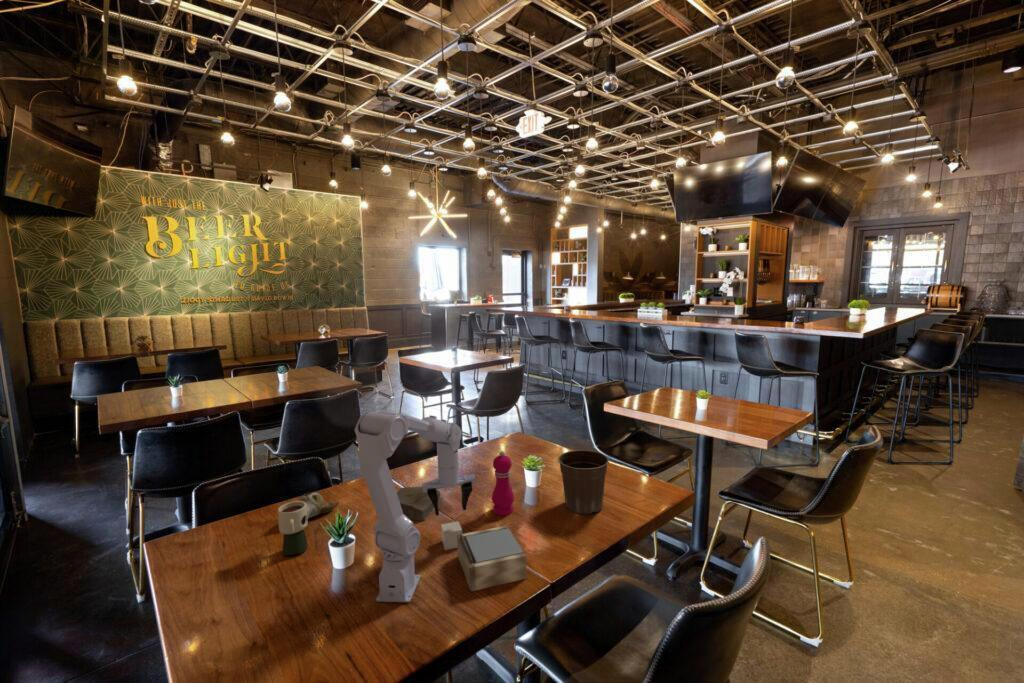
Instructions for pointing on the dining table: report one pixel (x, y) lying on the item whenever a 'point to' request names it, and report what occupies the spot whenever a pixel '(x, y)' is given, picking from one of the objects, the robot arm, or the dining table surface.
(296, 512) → the character mug
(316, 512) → the ceramic sculpture
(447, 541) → the pale grey cube
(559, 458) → the plant pot
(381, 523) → the robot arm
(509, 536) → the trapdoor flap
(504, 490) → the pepper mill
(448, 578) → the dining table surface
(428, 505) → the dark grey rock slab
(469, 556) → the frame
